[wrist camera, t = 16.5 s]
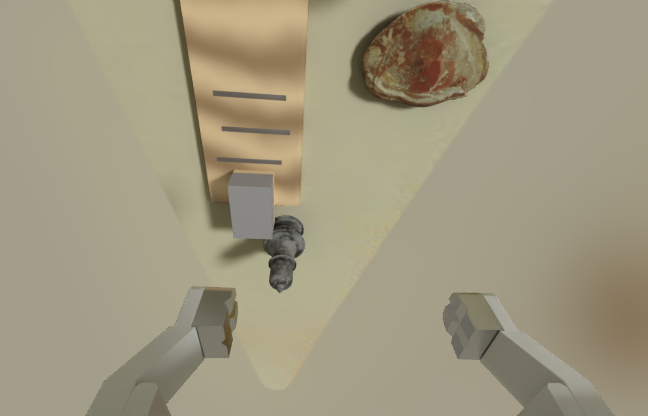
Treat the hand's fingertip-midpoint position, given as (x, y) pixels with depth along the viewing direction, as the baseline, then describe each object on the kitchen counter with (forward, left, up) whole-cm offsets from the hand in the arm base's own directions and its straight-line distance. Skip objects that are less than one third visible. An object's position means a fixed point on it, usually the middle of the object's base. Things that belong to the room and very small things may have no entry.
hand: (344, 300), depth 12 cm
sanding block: (+14, -8, -28) cm, 32 cm away
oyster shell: (-5, +11, -30) cm, 32 cm away
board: (+2, -8, -29) cm, 30 cm away
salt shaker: (+20, -4, -29) cm, 36 cm away
